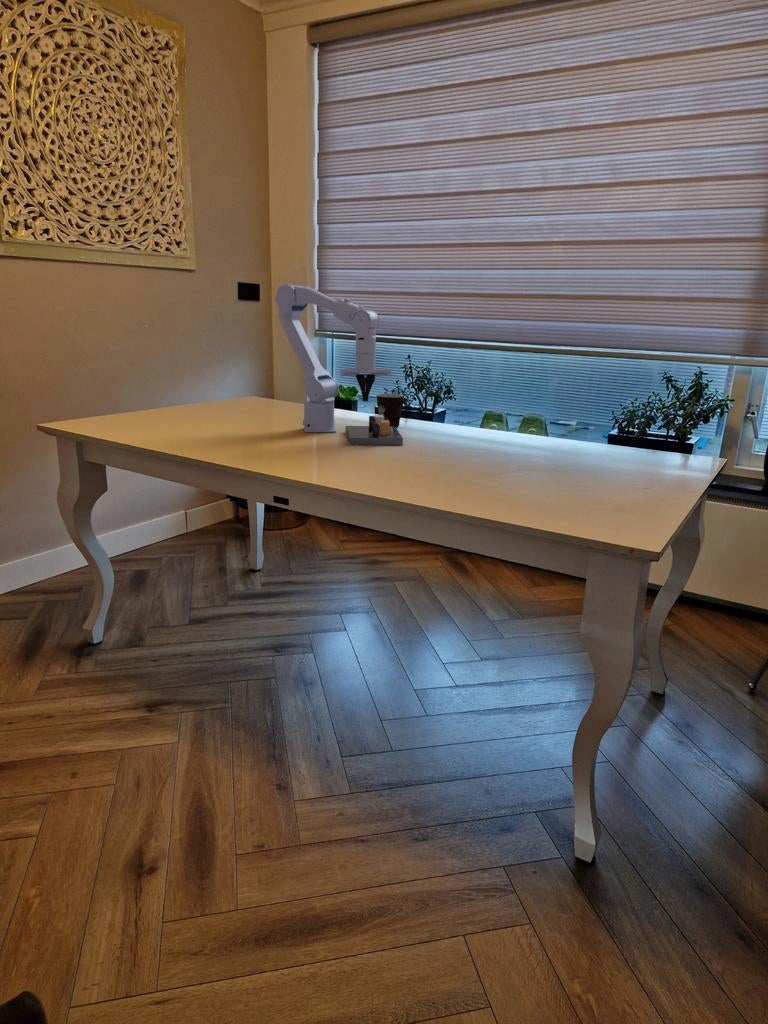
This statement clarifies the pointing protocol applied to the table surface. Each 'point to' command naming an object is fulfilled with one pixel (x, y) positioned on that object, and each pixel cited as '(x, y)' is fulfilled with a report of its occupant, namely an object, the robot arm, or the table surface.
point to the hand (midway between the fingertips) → (365, 401)
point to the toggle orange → (384, 427)
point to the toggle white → (379, 418)
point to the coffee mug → (391, 407)
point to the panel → (372, 434)
